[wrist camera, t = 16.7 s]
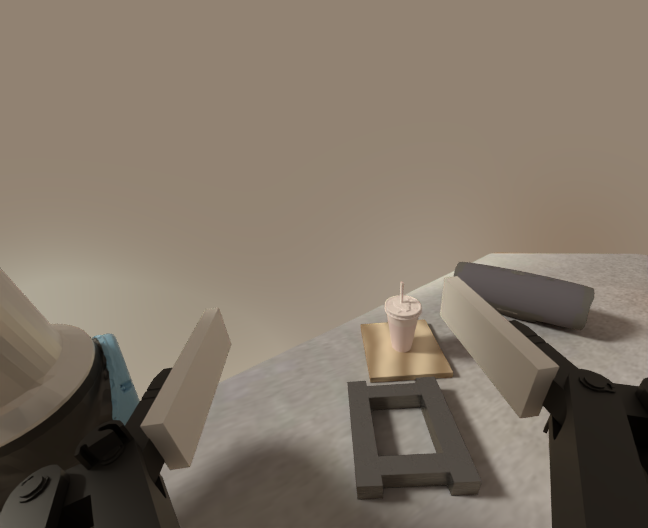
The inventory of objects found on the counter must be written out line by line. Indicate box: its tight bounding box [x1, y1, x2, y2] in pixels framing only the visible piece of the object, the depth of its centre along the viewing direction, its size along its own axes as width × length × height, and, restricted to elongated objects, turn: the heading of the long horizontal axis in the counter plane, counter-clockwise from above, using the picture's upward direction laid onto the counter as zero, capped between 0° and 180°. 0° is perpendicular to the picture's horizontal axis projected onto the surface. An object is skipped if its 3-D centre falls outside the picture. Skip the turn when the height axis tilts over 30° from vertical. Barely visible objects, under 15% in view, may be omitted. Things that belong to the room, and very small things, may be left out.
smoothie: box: [385, 282, 422, 352], centre depth 47 cm, size 6×6×14 cm
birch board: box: [361, 320, 453, 383], centre depth 51 cm, size 14×14×1 cm
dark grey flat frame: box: [347, 376, 482, 499], centre depth 36 cm, size 14×14×3 cm
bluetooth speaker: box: [454, 262, 594, 330], centre depth 55 cm, size 23×9×10 cm, turn 50°
